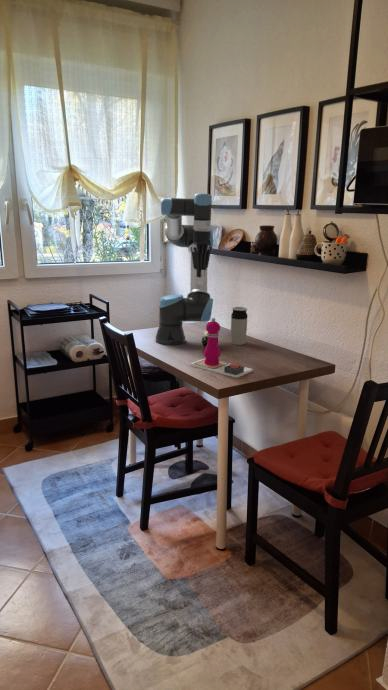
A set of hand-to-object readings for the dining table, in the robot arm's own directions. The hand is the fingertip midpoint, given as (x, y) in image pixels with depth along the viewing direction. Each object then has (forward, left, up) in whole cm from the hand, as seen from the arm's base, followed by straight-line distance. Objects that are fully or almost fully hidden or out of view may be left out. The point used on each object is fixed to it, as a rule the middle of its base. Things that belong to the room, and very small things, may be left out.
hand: (200, 284), depth 227 cm
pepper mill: (+11, +16, -32) cm, 37 cm away
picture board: (+11, +21, -32) cm, 40 cm away
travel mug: (-29, +3, -33) cm, 44 cm away
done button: (+14, +30, -31) cm, 45 cm away
